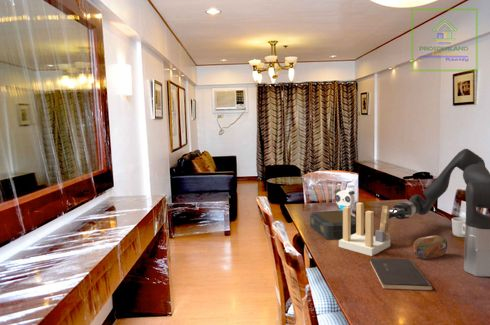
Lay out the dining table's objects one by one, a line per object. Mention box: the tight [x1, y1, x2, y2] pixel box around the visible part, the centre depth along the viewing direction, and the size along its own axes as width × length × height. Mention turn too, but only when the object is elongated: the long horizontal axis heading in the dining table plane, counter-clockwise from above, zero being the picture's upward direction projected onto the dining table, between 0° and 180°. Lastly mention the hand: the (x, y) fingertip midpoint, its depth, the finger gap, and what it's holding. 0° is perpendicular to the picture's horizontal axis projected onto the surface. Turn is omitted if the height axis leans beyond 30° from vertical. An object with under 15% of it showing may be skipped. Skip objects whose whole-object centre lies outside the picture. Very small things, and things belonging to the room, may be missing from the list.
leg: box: [379, 205, 391, 240], centre depth 158 cm, size 2×2×15 cm
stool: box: [338, 201, 391, 257], centre depth 158 cm, size 16×18×18 cm
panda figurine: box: [333, 188, 356, 217], centre depth 211 cm, size 12×11×15 cm
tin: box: [412, 235, 448, 260], centre depth 145 cm, size 15×3×8 cm, turn 105°
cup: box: [451, 216, 466, 238], centre depth 167 cm, size 11×8×8 cm
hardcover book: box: [368, 257, 434, 291], centre depth 129 cm, size 16×23×2 cm
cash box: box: [309, 209, 356, 241], centre depth 182 cm, size 25×20×8 cm
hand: (386, 216), depth 159 cm, fingers closed
